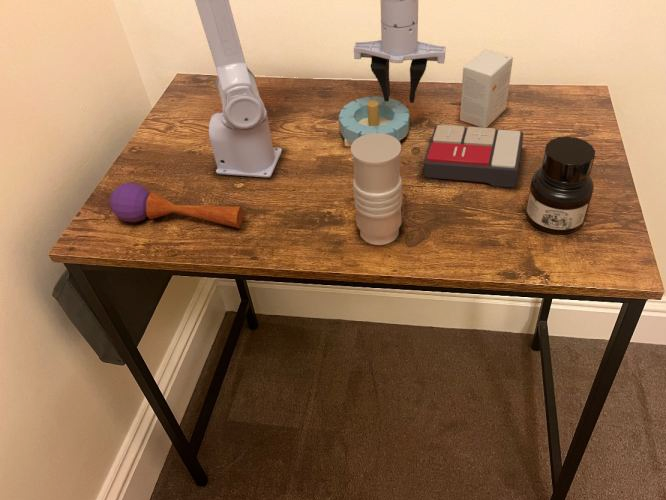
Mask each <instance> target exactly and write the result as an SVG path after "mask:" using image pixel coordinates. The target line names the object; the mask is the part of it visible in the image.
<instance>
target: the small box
mask: <svg viewBox="0 0 666 500" xmlns="http://www.w3.org/2000/svg"><path fill="white" fill-rule="evenodd" d="M513 59H514V57H513V56H511V55H508V54H504V53H501V52H499V51H494V50H491V49H488V48H485V49H483V51H481V52H480V53H479V54H478V55H476V56H475V57H474V58H473V59H472V60H470V61H469V62H468V63H467V64H466V65H464V66H463V68H462V81H461V83H462V84H461V97H460V110H459V111H460V112H459V120H460V121H461V122H464V123H467V124H469V125H472V126H474V127H481V128H489V126H490V125H491V124H492V123H493V122H494V121H495V120H496V119H497V118H498V117H499V116H501V115H502V113H503V112H505V111H506V110H507V105H508V104H507V103H508V97H509V89H510V82H511V76H512V75H511V74H512V68H513Z"/></svg>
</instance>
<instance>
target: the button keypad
mask: <svg viewBox="0 0 666 500" xmlns="http://www.w3.org/2000/svg"><path fill="white" fill-rule="evenodd" d="M523 141H524V132H523V131H520V130H509V129H496V128H493V127H487V128H481V127H478V126H468V127H465V126H464V125H451V124H450V125H447V124H438V125H436V126H435V127H434V129H433V132H432V135H431V138H430V141H429V143H428V147H427V151H426V152H425V153H426V154H425V157H424V159H423V176H424V177H425V178H426V179H427V178H428V179H438V180H439V179H441V180H451V181H452V180H453V181H464V182H475V183H485V184H489V185H490V186H492V187H500V188H511V189H515V188H516V187H517V183H518V176H519V169H520V164H521V156H522V151H523Z"/></svg>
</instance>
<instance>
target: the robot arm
mask: <svg viewBox="0 0 666 500" xmlns="http://www.w3.org/2000/svg"><path fill="white" fill-rule="evenodd" d="M194 2H195V5H196V8H197V11H198V15H199V17H200V22H201V25H202V28H203V31H204V34H205V38H206V41H207V44H208V47H209V50H210V54H211V57H212V60H213V63H214V67H215V70H216V72H217V77H216V83H215V84H216V90H217V92H218V93H219V99H220V103H221V108H222V109H221V112H215V113H213V114H212V115H211V118H210V119H209V124H208V139H209V143H210V147H211V151H212V154H213V158H214V161H215V165H216V170H215V173H216V174H217V175H225V176H226V175H227V176H241V177H255V178H271V177H272V176H273V173H274V171H275V170H276V169H275V168H276V166H277V164H278V162H279V159H280V157H281V154H282V152H283V149H282V147H274V144H273V140H272V135H271V128H270V123H269V118H268V111H267V109H266V108H265V104H264V102H263V100H262V98H261V95H260V92H259V89H258V86H257V79H256V76H255V74H254V73H253V71H251V70H250V68H249V67H248V66H247V63H246V60H245V59H246V58H245V56H244V51H243V48H242V45H241V41H240V37H239V33H238V29H237V26H236V22H235V19H234V15H233V12H232V8H231V4H230V0H194ZM418 31H419V0H380V39H379V40H371V41H355V43H354V46H353V58H354V60H361V59H362V58H365V59H366V58H367V59H371V60H370V63H371V64H370V70H371V72H372V73H373V75H374V77H375V78H376V81H377V82H378V84H379V87H380V90H381V92H382V95H383V96H382V97H384V101H387V102H388V101H389V98H391V81H390V63H392V64H402V63H404V61H411V62H410V67H409V83H410V84H409V85H410V88H409V99H408V100H409V101H408V102H409V104H414V103H415V99H416V92H417V90H418V89H417V88H418V86H419V84H420V81H421V80H422V78H423V76H424V75H425V72H426V70H427V65H428V62H437V64H442V65H443V64H445V62H446V61H445V60H446V49H447V48H446V46H442V45H436V44H431V43H427V42H422V41H419V40H418V39H419V38H418V37H419V32H418Z"/></svg>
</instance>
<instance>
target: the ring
mask: <svg viewBox="0 0 666 500" xmlns="http://www.w3.org/2000/svg"><path fill="white" fill-rule="evenodd" d="M369 101H377V102H378V103H379V117H384V118H386V119H389V120H391V121H390V122H389V123H387V124H385V125H380V126H365V125H362V124H360V123H358V122H359V121H360V120H362V119H364V118H368V112H367V103H368V102H369ZM410 125H411V112H410V110H409V108H407V106H406V105H405V104H404V103H402V101H399V100H397V99H394V98H392V97H389V101H388V102H387V101H384V96H376V95H375V96H374V95H371V97H370V96H364V97H361V98H356V99H355V100H352V101H350V102H349V103H347V104H345V105H343V107H342V108H341V109H340V112H339V115H338V127H339V132H340V134H341V136H342V137H343V139H344V140H345V139H347V141H348V142H350V143H353V142H354V141H355V140H356V139H357V138H359V137H361V136H363V135H367V134H372V133H383V134H388V135H390V136H393V137H395V138H396V139H397V140H398V141H399V142H401V140H404V138H405V137H407V135H408V134H409V130H410V127H411V126H410Z"/></svg>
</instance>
